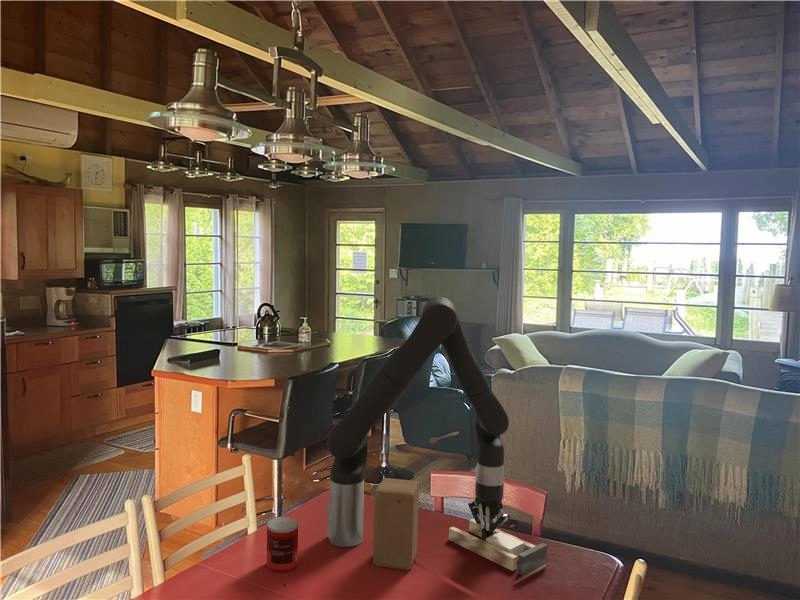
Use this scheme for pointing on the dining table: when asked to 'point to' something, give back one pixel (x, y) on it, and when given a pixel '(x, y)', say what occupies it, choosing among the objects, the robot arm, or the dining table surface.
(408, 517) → the wooden block
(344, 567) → the dining table surface
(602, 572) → the dining table surface
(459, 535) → the birch chute
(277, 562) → the canned food
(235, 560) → the dining table surface
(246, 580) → the dining table surface
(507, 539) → the off-white block
